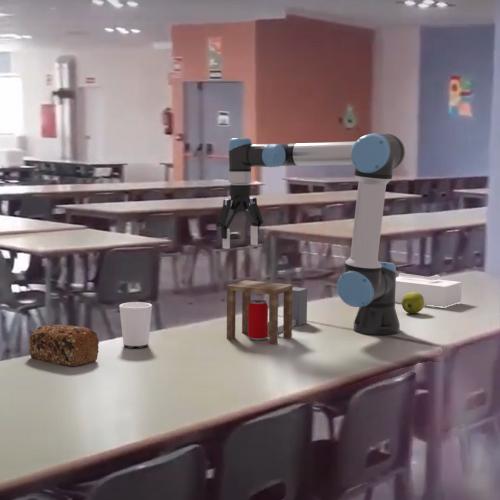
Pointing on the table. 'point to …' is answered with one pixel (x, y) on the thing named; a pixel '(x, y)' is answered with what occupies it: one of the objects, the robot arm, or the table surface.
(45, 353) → the bread
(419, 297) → the apple
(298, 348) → the table surface
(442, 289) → the tissue box
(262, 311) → the beverage can
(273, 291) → the small wooden table
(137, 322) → the cup
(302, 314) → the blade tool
